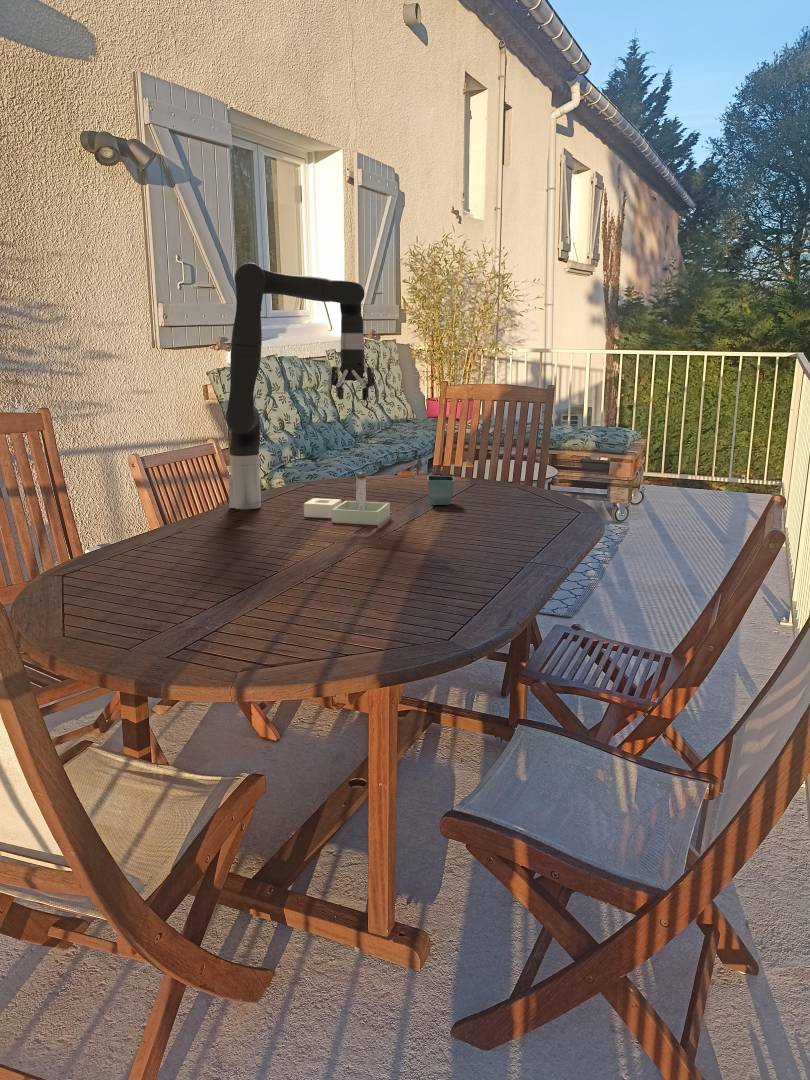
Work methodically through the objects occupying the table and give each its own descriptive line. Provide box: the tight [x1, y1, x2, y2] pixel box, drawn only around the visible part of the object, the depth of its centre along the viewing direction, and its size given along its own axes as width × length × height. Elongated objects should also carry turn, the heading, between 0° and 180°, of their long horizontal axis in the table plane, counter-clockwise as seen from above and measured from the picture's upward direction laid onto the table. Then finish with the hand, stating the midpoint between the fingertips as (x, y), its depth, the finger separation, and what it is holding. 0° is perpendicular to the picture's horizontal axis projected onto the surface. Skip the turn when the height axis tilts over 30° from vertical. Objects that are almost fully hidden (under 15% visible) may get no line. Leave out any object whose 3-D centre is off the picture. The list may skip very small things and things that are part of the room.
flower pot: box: [426, 475, 456, 506], centre depth 277 cm, size 9×9×9 cm
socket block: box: [303, 497, 342, 519], centre depth 256 cm, size 9×9×5 cm
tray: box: [331, 500, 391, 529], centre depth 251 cm, size 14×14×5 cm
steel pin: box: [354, 471, 368, 511], centre depth 249 cm, size 3×3×14 cm
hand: (352, 399), depth 270 cm, fingers open, 8 cm apart
